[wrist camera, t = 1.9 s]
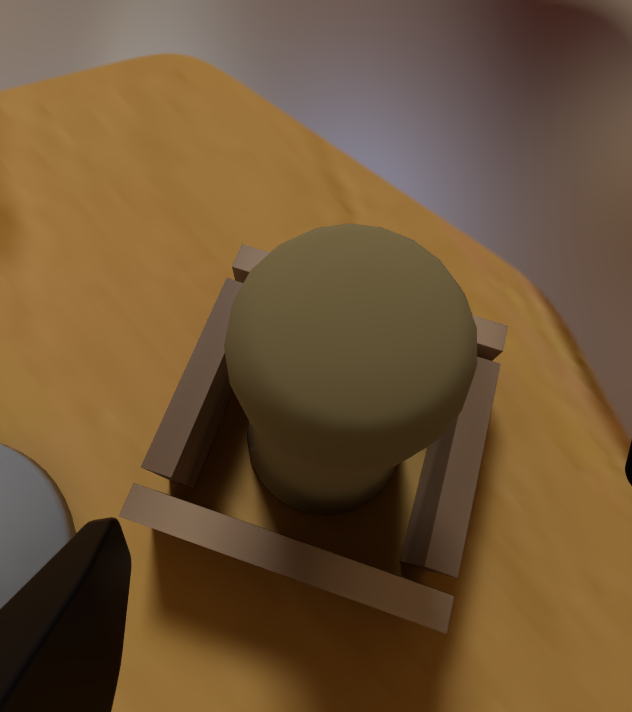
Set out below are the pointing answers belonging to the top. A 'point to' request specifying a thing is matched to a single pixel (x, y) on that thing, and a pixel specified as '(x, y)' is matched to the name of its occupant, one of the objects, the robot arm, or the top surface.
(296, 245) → the cork
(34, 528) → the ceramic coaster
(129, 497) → the frame
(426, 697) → the top surface
